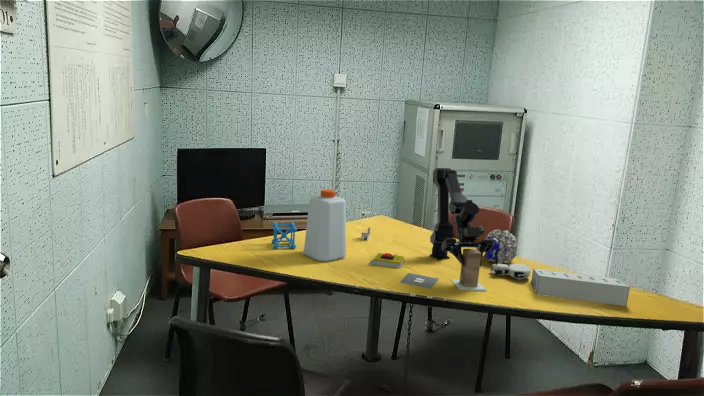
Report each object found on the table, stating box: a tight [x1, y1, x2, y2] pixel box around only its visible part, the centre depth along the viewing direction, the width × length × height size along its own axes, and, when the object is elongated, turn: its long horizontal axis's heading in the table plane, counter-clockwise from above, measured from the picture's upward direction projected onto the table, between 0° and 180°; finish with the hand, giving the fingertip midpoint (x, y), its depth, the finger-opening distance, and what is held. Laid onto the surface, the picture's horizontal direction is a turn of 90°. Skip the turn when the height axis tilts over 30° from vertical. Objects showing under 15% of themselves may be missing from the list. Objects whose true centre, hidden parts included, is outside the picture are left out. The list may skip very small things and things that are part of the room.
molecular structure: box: [271, 221, 298, 250], centre depth 217 cm, size 10×10×10 cm
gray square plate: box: [399, 272, 439, 289], centre depth 185 cm, size 12×12×1 cm
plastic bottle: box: [303, 189, 347, 263], centre depth 205 cm, size 15×15×28 cm
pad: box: [450, 278, 487, 292], centre depth 183 cm, size 10×10×1 cm
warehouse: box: [531, 268, 631, 307], centre depth 182 cm, size 30×14×8 cm, turn 78°
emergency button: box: [369, 252, 405, 269], centre depth 203 cm, size 9×4×15 cm
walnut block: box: [459, 248, 481, 287], centre depth 182 cm, size 5×5×13 cm
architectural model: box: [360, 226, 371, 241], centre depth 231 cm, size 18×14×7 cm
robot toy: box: [490, 263, 531, 281], centre depth 197 cm, size 12×4×15 cm
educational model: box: [483, 228, 518, 264], centre depth 216 cm, size 14×20×15 cm
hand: (471, 265), depth 180 cm, fingers open, 6 cm apart
